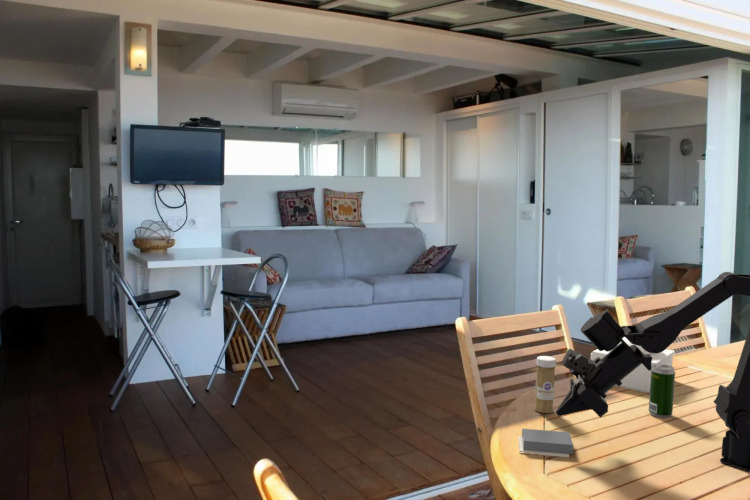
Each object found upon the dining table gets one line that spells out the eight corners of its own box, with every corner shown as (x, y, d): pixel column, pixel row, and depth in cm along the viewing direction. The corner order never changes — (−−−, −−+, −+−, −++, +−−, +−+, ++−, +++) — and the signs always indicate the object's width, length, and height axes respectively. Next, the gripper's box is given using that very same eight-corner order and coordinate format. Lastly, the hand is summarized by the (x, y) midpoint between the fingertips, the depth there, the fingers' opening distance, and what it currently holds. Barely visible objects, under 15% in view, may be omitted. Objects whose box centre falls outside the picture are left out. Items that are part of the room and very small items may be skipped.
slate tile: (569, 432, 147) (522, 428, 149) (573, 444, 140) (523, 440, 142) (568, 441, 147) (521, 437, 149) (572, 454, 140) (523, 450, 142)
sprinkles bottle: (540, 414, 165) (543, 360, 164) (530, 408, 169) (533, 355, 168) (557, 412, 166) (559, 359, 165) (547, 406, 171) (549, 354, 169)
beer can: (663, 420, 163) (666, 371, 162) (643, 413, 167) (646, 365, 166) (676, 416, 166) (680, 368, 164) (657, 409, 170) (660, 362, 169)
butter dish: (611, 368, 207) (614, 317, 205) (673, 380, 196) (676, 326, 194) (588, 381, 194) (591, 326, 192) (653, 395, 182) (657, 337, 180)
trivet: (564, 442, 148) (564, 440, 148) (568, 457, 140) (569, 455, 140) (518, 438, 150) (518, 436, 150) (519, 453, 142) (519, 450, 142)
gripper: (581, 328, 150) (528, 373, 153) (594, 349, 132) (533, 400, 135) (616, 365, 150) (562, 410, 153) (634, 391, 131) (572, 441, 134)
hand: (557, 414), depth 144 cm, fingers closed
